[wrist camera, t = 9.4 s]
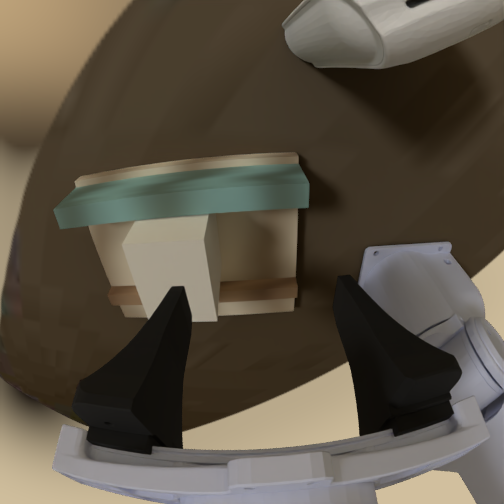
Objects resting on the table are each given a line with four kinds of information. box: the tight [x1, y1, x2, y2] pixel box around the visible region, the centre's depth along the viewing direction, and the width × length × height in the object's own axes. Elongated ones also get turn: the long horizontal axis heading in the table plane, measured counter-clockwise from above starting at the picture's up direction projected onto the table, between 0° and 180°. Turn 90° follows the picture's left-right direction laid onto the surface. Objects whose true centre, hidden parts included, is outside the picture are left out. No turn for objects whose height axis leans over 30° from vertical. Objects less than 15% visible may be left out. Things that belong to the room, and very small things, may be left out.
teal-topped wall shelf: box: [53, 152, 309, 317], centre depth 21 cm, size 16×14×4 cm
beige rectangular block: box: [122, 213, 222, 322], centre depth 19 cm, size 4×6×6 cm
